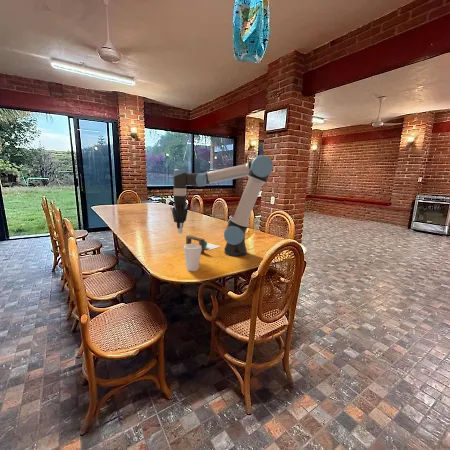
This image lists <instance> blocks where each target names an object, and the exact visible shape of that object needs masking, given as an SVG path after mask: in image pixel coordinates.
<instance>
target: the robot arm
mask: <svg viewBox="0 0 450 450" xmlns="http://www.w3.org/2000/svg"><path fill="white" fill-rule="evenodd" d="M273 169H274V164H273V161H272V159H271V158H270V157H269V156H267V155H265V154H261V155H256V156H255V157H254V159H253V160H250V161H247V162H246V163H244V164H240V165H236V166H234V165H233V166H230V167H225V168H221V169H216V170H211V171H207V172H202V173H199V172H198V173H197V172H192V173H191V172H187V170H186V169H182V168H180V169H179V168H175V169H174V170H173V202H174V203H173V206H170V210H171V213H172V218H173V222H174V223H176V229H177V234H183V228H184V223H185V222H186V221H187V215H188V211H189V208H190V206H189V205H187V203H186V202H187V187H188V186H189V187H206V185H210V184H215V183H221V182H224V181H231V180H235V179H240V178H245V177H248V180H247V183H246V185H245V188H244V190H243V192H242V195H241V198H240V200H239V201H238V202H239V203H238V205H237V208H236V210H235V213H234V215H233V217H230V218H229V219H228V220H227V227H226V229H224V232H223V237H224V238H223V239H224V240H225V241H226V243H225V247H224V251H223V253H224V254H225V255H227V256H232V257H243V256H246V255H247V253H248V249H247V246H246V242H245V241H246V233H247V230H248V227H249V225H248V221H249V219H250V216H251V213H252V211H253V208H254V206H255V204H256V202H257V199H258V197H259V194H260V192H261V190H262V187H263V185H264V184H267V182H268V180H269V178H270V175H271V173H272V172H273Z"/></svg>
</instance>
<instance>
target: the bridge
mask: <svg viewBox="0 0 450 450" xmlns="http://www.w3.org/2000/svg"><path fill="white" fill-rule="evenodd" d="M185 239H186V240H185V245H187V244H192V240H193V241H197V242H198V244H199V245H201V246H202V251H201V254H204V253H205V249H204V241H205V239H204V238H201V237H197V236H194V235H192V234H191V235H190V234H189V235H186V237H185Z"/></svg>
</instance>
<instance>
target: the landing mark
mask: <svg viewBox="0 0 450 450" xmlns="http://www.w3.org/2000/svg"><path fill="white" fill-rule="evenodd" d="M221 247H222V246H221V245H217V244H213V243H210V242H209V243H208V242H207V246H206V247H205V248H204V250H208V251H212V250H215V249H218V248H221Z"/></svg>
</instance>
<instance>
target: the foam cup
mask: <svg viewBox="0 0 450 450" xmlns="http://www.w3.org/2000/svg"><path fill="white" fill-rule="evenodd" d="M201 251H202V246H201V245H199V243H198V244H197V243H191V244H187V245H186V244H185V245H183V253H184V260H185V267H186V271H188V272H197V271H198V270H199V267H200V260H201V254H202V253H201Z"/></svg>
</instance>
